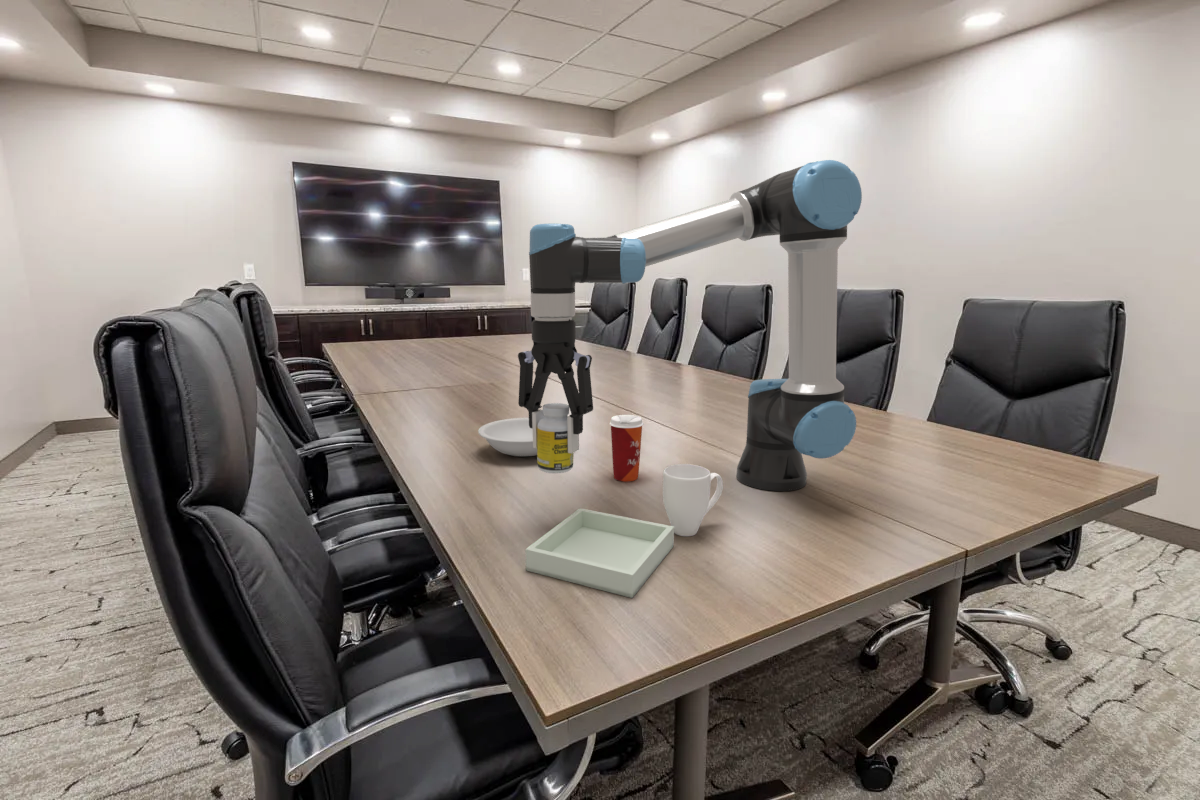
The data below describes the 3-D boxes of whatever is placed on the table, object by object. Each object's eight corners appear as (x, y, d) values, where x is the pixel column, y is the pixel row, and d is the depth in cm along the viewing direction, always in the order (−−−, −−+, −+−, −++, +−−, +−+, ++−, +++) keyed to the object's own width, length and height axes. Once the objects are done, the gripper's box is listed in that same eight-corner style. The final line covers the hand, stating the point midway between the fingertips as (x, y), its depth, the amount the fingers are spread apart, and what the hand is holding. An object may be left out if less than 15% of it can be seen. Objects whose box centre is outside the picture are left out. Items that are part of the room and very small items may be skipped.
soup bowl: (589, 456, 147) (589, 431, 146) (503, 474, 134) (502, 447, 132) (544, 435, 166) (543, 413, 165) (465, 449, 153) (463, 425, 152)
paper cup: (640, 484, 127) (641, 423, 124) (606, 482, 128) (606, 421, 125) (644, 472, 134) (645, 414, 131) (612, 470, 136) (612, 413, 133)
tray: (673, 546, 98) (674, 526, 97) (632, 598, 82) (632, 575, 81) (580, 526, 106) (579, 508, 105) (525, 570, 90) (525, 549, 89)
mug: (679, 545, 98) (681, 482, 96) (652, 527, 105) (654, 467, 103) (734, 531, 103) (737, 471, 101) (705, 514, 111) (708, 458, 108)
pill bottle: (545, 476, 99) (545, 411, 97) (532, 465, 105) (531, 403, 103) (579, 471, 102) (580, 408, 100) (564, 461, 108) (565, 400, 105)
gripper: (614, 319, 97) (614, 450, 102) (518, 315, 106) (522, 436, 110) (594, 322, 90) (594, 462, 95) (493, 318, 99) (498, 447, 104)
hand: (555, 448), depth 103 cm, fingers closed on pill bottle, 6 cm apart
